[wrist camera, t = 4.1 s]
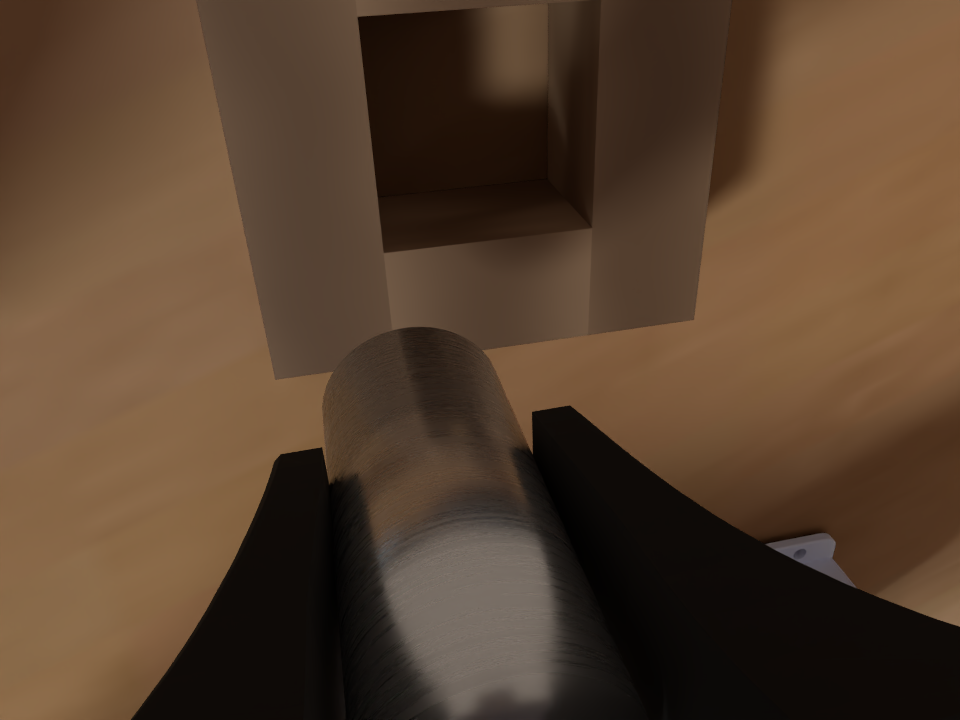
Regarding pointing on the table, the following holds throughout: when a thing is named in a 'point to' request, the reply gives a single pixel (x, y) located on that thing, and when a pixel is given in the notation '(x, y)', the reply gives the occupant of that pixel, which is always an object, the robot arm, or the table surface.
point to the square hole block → (476, 210)
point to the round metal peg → (454, 549)
